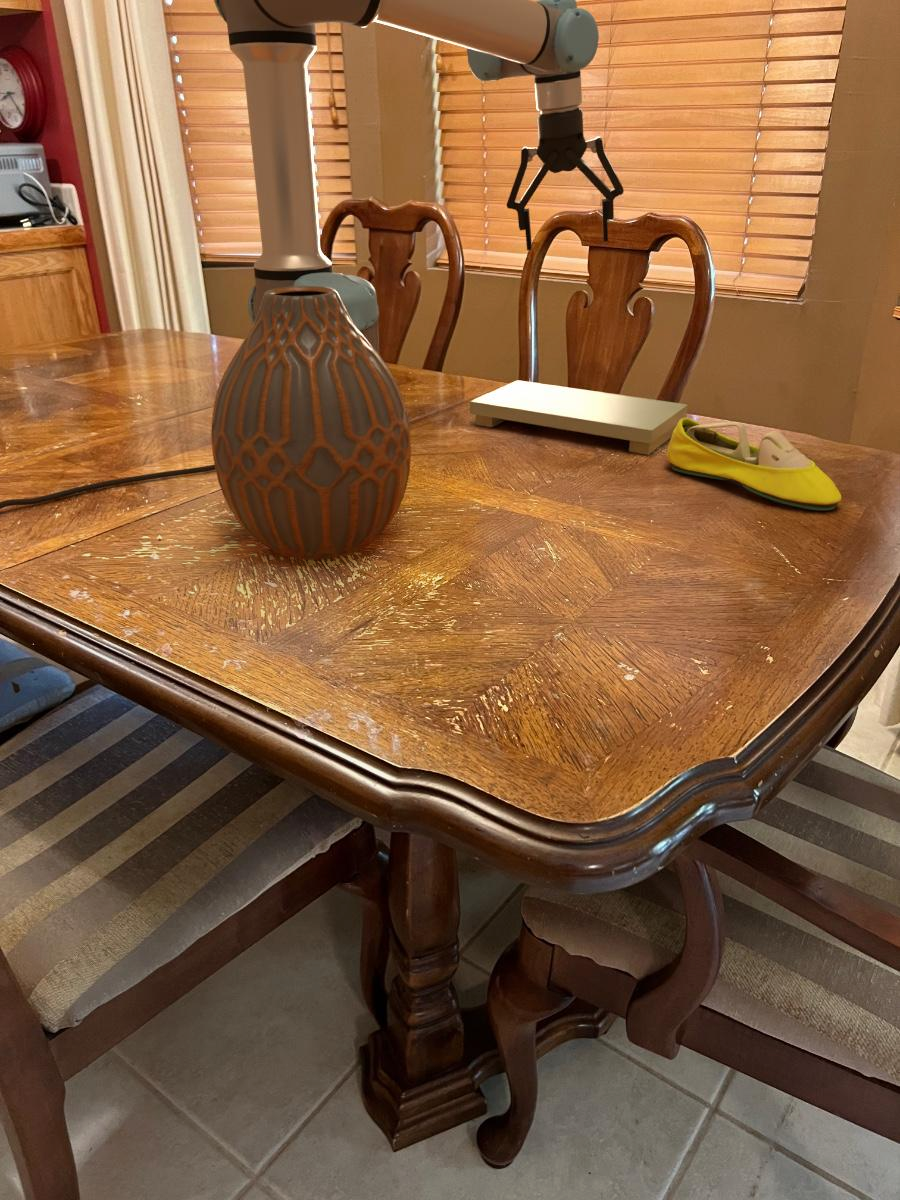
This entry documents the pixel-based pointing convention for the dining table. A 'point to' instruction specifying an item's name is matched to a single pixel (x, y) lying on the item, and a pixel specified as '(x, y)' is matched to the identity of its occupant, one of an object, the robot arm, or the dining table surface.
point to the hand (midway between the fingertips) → (567, 244)
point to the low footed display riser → (582, 412)
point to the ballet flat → (752, 464)
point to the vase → (310, 430)
